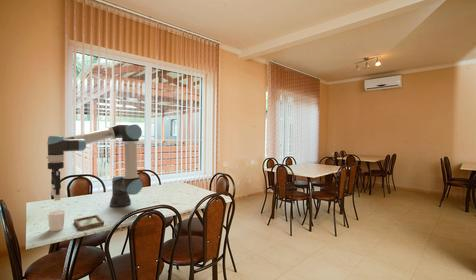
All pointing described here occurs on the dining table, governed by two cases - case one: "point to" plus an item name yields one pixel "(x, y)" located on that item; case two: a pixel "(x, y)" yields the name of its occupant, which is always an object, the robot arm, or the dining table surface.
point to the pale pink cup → (56, 220)
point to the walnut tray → (88, 222)
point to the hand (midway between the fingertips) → (55, 197)
